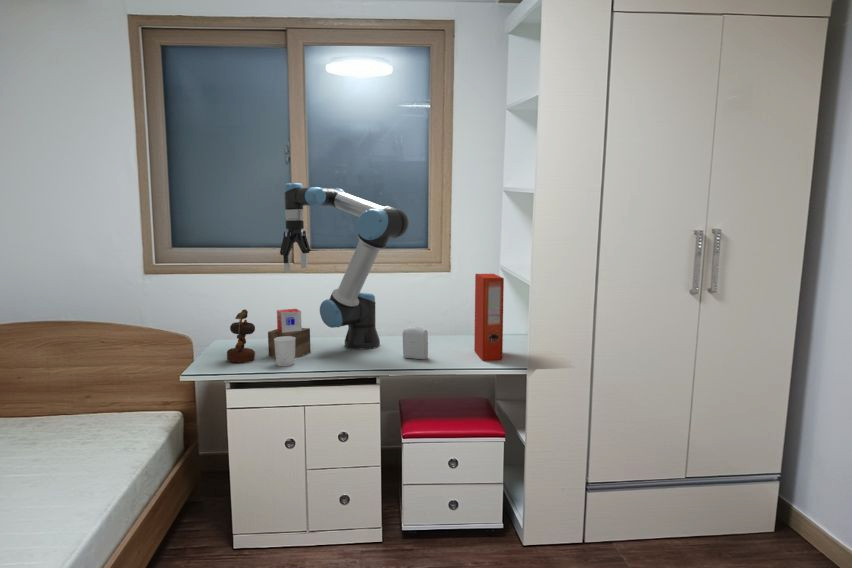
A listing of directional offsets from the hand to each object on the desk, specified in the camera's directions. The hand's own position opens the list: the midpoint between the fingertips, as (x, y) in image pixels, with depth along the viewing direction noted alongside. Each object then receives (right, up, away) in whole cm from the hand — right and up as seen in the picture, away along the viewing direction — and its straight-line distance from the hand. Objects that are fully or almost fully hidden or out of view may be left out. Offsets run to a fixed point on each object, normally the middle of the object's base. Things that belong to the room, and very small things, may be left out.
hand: (296, 269), depth 275 cm
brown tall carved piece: (-16, -36, -25) cm, 47 cm away
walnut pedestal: (+1, -35, -16) cm, 38 cm away
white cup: (+3, -37, -33) cm, 49 cm away
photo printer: (+52, -36, -24) cm, 67 cm away
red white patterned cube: (+1, -25, -17) cm, 30 cm away
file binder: (+81, -35, -21) cm, 90 cm away
